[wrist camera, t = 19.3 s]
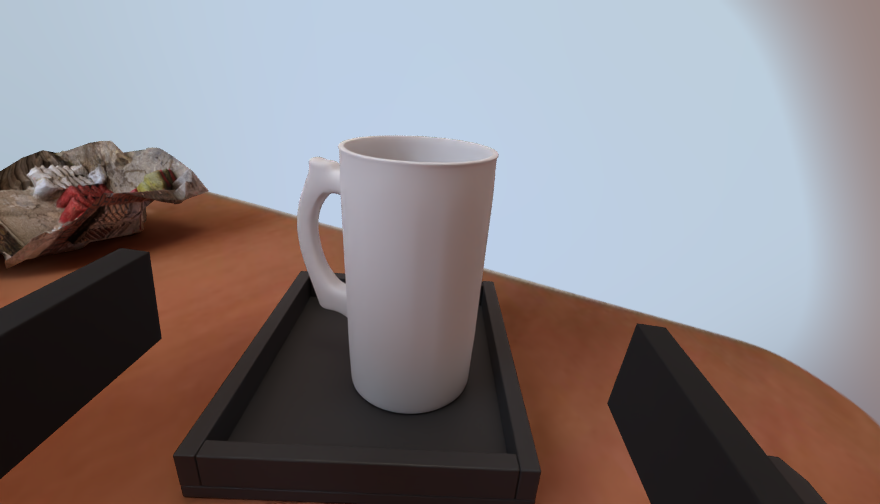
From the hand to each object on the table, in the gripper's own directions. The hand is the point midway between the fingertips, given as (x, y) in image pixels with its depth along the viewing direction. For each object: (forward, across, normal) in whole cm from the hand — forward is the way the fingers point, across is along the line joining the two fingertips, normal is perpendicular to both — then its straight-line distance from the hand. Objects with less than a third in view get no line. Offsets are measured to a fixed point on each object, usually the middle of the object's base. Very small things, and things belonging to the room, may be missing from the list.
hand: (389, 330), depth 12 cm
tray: (+9, -1, -9) cm, 13 cm away
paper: (+21, -33, -12) cm, 40 cm away
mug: (+9, -1, -9) cm, 13 cm away
